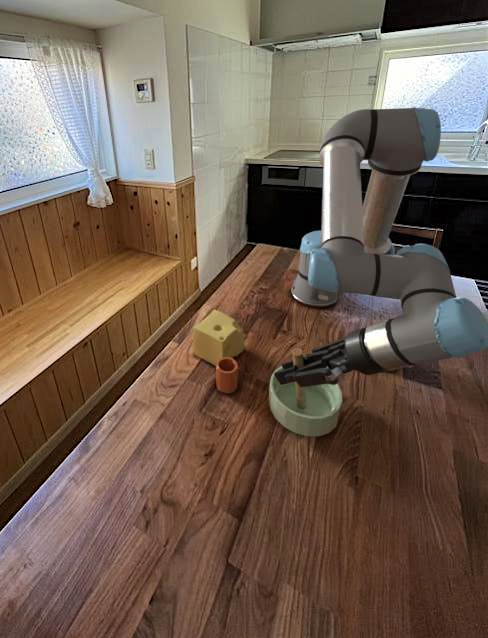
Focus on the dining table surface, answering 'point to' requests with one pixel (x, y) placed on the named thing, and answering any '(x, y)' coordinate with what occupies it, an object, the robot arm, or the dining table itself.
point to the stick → (299, 390)
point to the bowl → (316, 414)
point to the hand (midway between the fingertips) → (281, 373)
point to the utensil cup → (227, 375)
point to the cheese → (217, 337)
